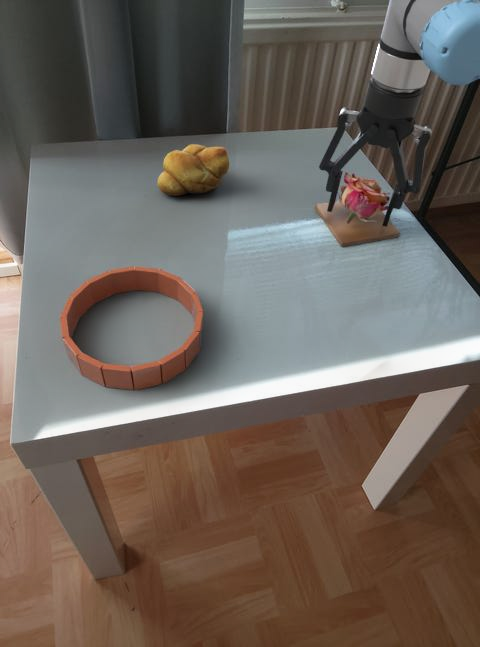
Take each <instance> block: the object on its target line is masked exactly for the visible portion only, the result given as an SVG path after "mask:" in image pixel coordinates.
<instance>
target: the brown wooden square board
mask: <svg viewBox="0 0 480 647" xmlns="http://www.w3.org/2000/svg"><path fill="white" fill-rule="evenodd" d="M328 205H329V202H323V203H315V205H314V209H315V211H316V213H318V215H319V216H320V218H321V219H322V221H323V222H324V224H325V225H326V227H327V228H328V229H329V231H330V233H331V234H332V235H333V237H334V238H335V240H336V242H337V243H338V244H339V246H340V247H341V248H345V247H349V246H356V245H361V244H366V243H371V242H378V241H385V240H389V239H395V238H400V235H401V232H400V231H399V229H397V227H396V226H395V225H394V224H393V223H392V222H391V220H390V219H389V222H388V225H387V227H386V226H382V225H383V221H384V218H385V215H386V213H384V211H381V212H379V213H378V214H376V215H375V216H373V217H372V218H370V219H371V220H367V222H364V224H363V222H362V221H361V220H360V219H359V218H358V217H357V215H355V216H354V217H353V218H352V220H351V222H350V223H349V224H348V223H347V222H346V219H347V218H348V216H349V214H350V212H349V211H347V210H346V208H344V207H343V206H342V205H341V202H340V200H335V204H334V207H333V209H332V212H329V211H327V209H328ZM373 220H374V221H373ZM375 221H376V222H375Z"/></svg>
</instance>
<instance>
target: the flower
mask: <svg viewBox="0 0 480 647" xmlns="http://www.w3.org/2000/svg"><path fill="white" fill-rule="evenodd" d="M343 182H344V183H345V184H341V185H340V191H341V194H340V193H339V192H337V195H338V198H339V201H340V202H341V205H342V206H343V207H344V208H346V210H347V211H349V212H350V214H349V216H348V218H347V219H346V222H347V223H348V224H349V223H350V222H351V220H352V218H353V217H354V216H355V215H357V217H358V218H359V219H360V220H361V221H362V222H363V224H364V222H367V220H371V219H370V218H372V217H373V216H375V215H376V214H378V213H379V212H381V211H382V212H384V211H387V209H388V206H389V205H388V204H389V203H390V200H391V197H390V194H391V193H390V192H382V190H383V188H382V186H380V184H379V183H378V181H377V180H376V179H368V178H366V179H365V178H363V177H361V176H359V177H358V176H357V175H356V174H355V173H352V174H350V173H349V172H348V171H346V172H345V173H344V176H343ZM373 221H374V220H373ZM375 222H376V221H375Z"/></svg>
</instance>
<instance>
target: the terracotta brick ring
mask: <svg viewBox="0 0 480 647" xmlns="http://www.w3.org/2000/svg"><path fill="white" fill-rule="evenodd" d="M131 291H143V292H155V293H160V294H162V295H164V296H167V297H169V298H172V299H174V300H176V301H178V302H179V303H180V304H181V305H182V306H183V307H184V308H185V309H186V310H187V311H188V312H189V313H190V314H191V316H192V320H193V322H194V327H193V331H192V332H191V333H190V335H189V336H188V337H187V338H186V339H185V341H184V342H183V344H182V345H181V346H180V347H179V348H177V349H175V350H174V351H172V352H171V353H169V354H167V355H165V356H164V357H162V358H160V359H158V360H154V361H150V362H145V363H140V364H135V365H123V364H113V363H104V362H102V361H101V360H98V359H96V358H94V357H92V356H90V355H88V354H86V353H84V352H82V351H81V349H80V348H79V347H78V346H77V344H76V343H75V342H74V340H73V335H74V333H75V330H76V327H77V325H78V323H79V320H80V318H81V317H82V316H83V315H85V313H87V311H88V310H90V309H91V307H92V306H93V305H94V304H97V303H98V302H100V301H102V300H104V299H106V298H109V297H111V296H112V295H115V294H120V293H126V292H131ZM59 322H60V323H59V324H60V331H61V338H62V341H63V344H64V347H65V351H66V354H67V358H68V359H69V360H70V362H71V363H72V364H73V366H74V367H75V368H76V370H78V372H79V373H80V374H81V375H82V376H83V377H84V378H86V379H89V380H90V381H92V382H94V383H96V384H98V385H100V386H102V387H106V388H110V389H120V390H128V391H137V390H141V389H146V388H150V387H154V386H155V387H156V386H159V385H162V384H165V383H167V382H168V381H170V380H172V379H173V378H175V377H177V376H178V375H179V374H181V373H183V372H185V371H186V370H187V369H188V368H189V367H190V365H191V364H192V362H193V360H194V359H195V358H196V357H197V356H198V354H199V352H200V351H201V346H202V340H203V334H204V308H203V306H202V304H201V301H200V298H199V294H198V292H196V290H194V288H192V287H191V286H190V285H189V284H188V283H187V282H186V281H185V280H184V279H183V278H181V277H180V276H177V275H175V274H173V273H171V272H168V271H166V270H163V269H161V268H160V269H159V268H155V267H154V268H153V267H147V266H146V267H144V266H136V265H135V266H128V267H120V268H114V269H109V270H107V271H104V272H102V273H100V274H98V275H95V276H93V277H91V278H89V279H86V281H84V282H83V283H82V284H81V285H80V286H78V288H76V289H75V291H73V292H72V293H71V294H70V295H69V296H68V298H67V300H66V302H65V304H64V306H63V308H62V311H61V313H60V317H59Z"/></svg>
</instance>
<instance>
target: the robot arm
mask: <svg viewBox="0 0 480 647" xmlns="http://www.w3.org/2000/svg"><path fill="white" fill-rule="evenodd" d="M372 65H373V66H372V69H371V77H370V79H369V81H368V85H367V89H366V92H365V97H364V100H363V104H362V106H361V108H360V109H359V110H358V111H355V110H350V109H349V108H348V107H347V106H346V107H345V106H344V107H342V108H341V109H340V113H339V115H338V117H337V126H336V130H335V132H334V134H333V135H332V136H333V137H332V138H331V140H330V142H329V144H328V147H327V149H326V150H325V153H324V155H323V157H322V159H321V161H320V163H319V165H318V168H319V170H320V171H325V172H326V173H327V174H328V175H327V176H328V177H327V181H326V186H325V191H326V192H328V193H330V196H329V197H330V198H329V201H328V203H329V205H328V209H327V211H329V212H332V209H333V207H334V204H335V201H337V200H336V199H337V197H338V193H339V188H340V184H341V180H342V176H343V172H344V171H343V170H342V169H344V167H345V166H346V165H347V164H348V163H349V162H350V161H351V159H353V157H354V156H355V155H356V154H357V153H358V152H359V151H360V150H361V149H362V148H363V147H364V146H365V145H366V144H368V145H370V146H379V147H381V148H383V149H389V150H390V155H391V156H392V161H393V166H394V172H395V176H396V181H397V182H396V183H397V184H395V185H394V188H393V192H392V194H391V197H390V200H389V203H388V205H387V206H388V209H387V210H386V212H385V218H384V221H383V225H382V226H386V227H387V225H388V222H389V220H390V219H391V216H392V213H393V210H394V209H395V210H400V209H401V208H402V206H403V203H404V200H405V198H406V196H407V194H409V193H413V194H419V193H420V191H421V187H422V182H423V174H424V165H425V164H424V163H425V157H426V149H427V148H426V147H427V146H428V144H429V142H430V140H431V137H432V132H433V127H432V126H431V125H426V126H421V125H418V124H416V119H415V116H416V114H417V111H418V108H419V104H420V102H421V100H422V96H423V93H424V88H423V87H424V86H425V85H426V84H427V81H428V78H429V75H430V73H431V72H432V73H433V74H436V75H437V77H439V78H440V79H441V80H442V81H444V82H445V83H447V84H450V85H455V86H465V85H469V84H471V83H472V82H473V83H474V82H475V81H477V80H479V79H480V0H389V2H388V6H387V10H386V14H385V18H384V22H383V26H382V30H381V35H380V39H379V42H378V46H377V49H376V53H375V57H374V61H373V64H372ZM354 122H356V123H357V125H358V128H359V130H360V132H359V133H358V135H357V136H356V137H355V138H354V139H353V141H352V142H350V144H348V146H347V147H346V148H345V149H344V151H343V152H341V154H340V155H339V156H338V157H337V159H335V161H332V158H333V155H334V154H335V152H336V150H337V148H338V145H339V143H340V142H341V140H342V138H343V136H344V134H345V132H346V130H347V128H349V127H351V126H352V124H353V123H354ZM411 134H412V135H413V141H414V142H415V143H416V144H417V145H416V149H415V154H414V155H415V156H414V166H413V176H412V180H409V174H408V169H407V164H406V158H405V153H404V152H405V151H404V148H403V141H404V139H406V138H408V137H409V136H410V135H411Z"/></svg>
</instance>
